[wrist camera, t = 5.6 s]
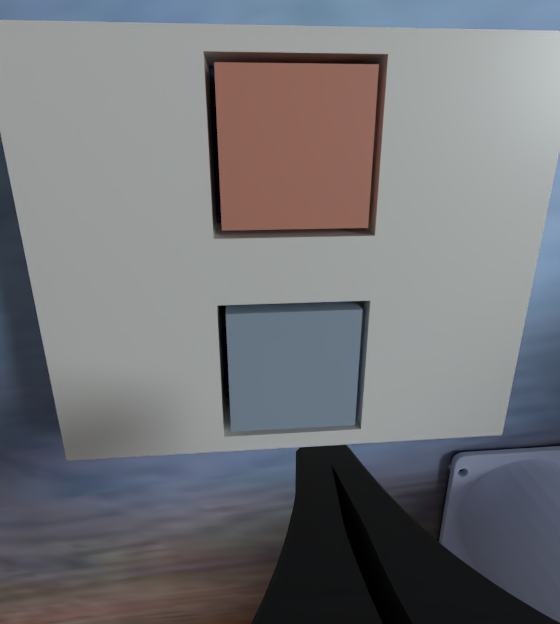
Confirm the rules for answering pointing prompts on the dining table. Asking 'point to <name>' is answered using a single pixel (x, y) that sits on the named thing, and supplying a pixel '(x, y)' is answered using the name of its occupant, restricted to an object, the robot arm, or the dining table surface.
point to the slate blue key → (293, 364)
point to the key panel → (274, 243)
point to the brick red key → (295, 144)
